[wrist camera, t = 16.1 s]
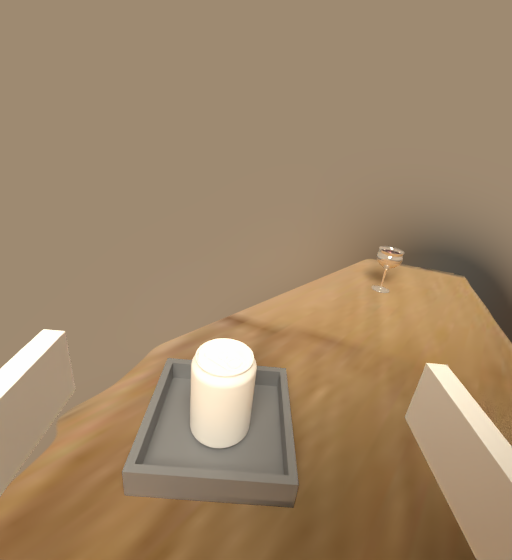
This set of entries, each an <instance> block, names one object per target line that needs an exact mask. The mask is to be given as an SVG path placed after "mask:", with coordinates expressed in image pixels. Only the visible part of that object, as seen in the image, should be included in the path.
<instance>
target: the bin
mask: <svg viewBox="0 0 512 560" xmlns="http://www.w3.org/2000/svg"><path fill="white" fill-rule="evenodd" d="M191 363H192V360H184V359H172V358H168V359H167V361H166V364H165V366H164V369H163V371H162V374H161V376H160V379H159V381H158V384H157V386H156V389H155V391H154V394H153V396H152V399H151V401H150V404H149V406H148V409H147V411H146V413H145V416H144V418H143V421H142V423H141V426H140V428H139V431H138V433H137V436H136V438H135V441H134V443H133V446H132V448H131V451H130V453H129V456H128V458H127V461H126V463H125V466H124V468H123V471H122V476H123V485H124V494H125V495H127V496H141V497H154V498H168V499H182V500H196V501H209V502H223V503H237V504H251V505H265V506H278V507H292V508H293V507H294V503H295V499H296V494H297V490H298V486H299V483H298V474H297V465H296V455H295V446H294V437H293V428H292V419H291V410H290V401H289V392H288V383H287V374H286V368H276V367H265V366H257V370H256V378H255V386H254V394H253V402H252V409H251V417H250V425H249V430H248V432H247V434H246V436H245V437H244V438H243V439H242V440H241V441H240V442H239V443H237V444H235V445H233V446H230V447H227V448H212V447H208V446H206V445H204V444H202V443H200V442H199V441H198V440H197V439H196V438H195V437H194V435H193V434H192V432H191V428H190V397H191Z"/></svg>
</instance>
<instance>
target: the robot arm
mask: <svg viewBox="0 0 512 560" xmlns="http://www.w3.org/2000/svg"><path fill="white" fill-rule="evenodd" d="M74 392H75V385H74V378H73V373H72V367H71V361H70V355H69V350H68V344H67V338H66V333H65V331H57V330H46V329H43V330H42V331H41V332H40V333H39V334H38V335H37V336H36V337H35V338H33V339H32V340H31V341H30V342H29V343H28V344H27V345H26V346H25V347H24V348H22V350H20V351H19V352H18V353H17V354H16V355H15V356H14V357H13V358H12V359H11V360H10V361H8V362H7V363H6V364H5V365H4V366H3V367H2V368H1V369H0V496H1V495H2V493H3V492H4V491H5V489H6V488H7V486H8V485H9V484H10V482H11V481H12V479H13V478H14V477H15V475H16V474H17V472H18V471H19V469H20V468H21V467H22V465H23V464H24V462H25V461H26V460H27V458H28V457H29V455H30V454H31V452H32V451H33V450H34V448H35V447H36V445H37V444H38V443H39V441H40V440H41V438H42V437H43V436H44V434H45V433H46V431H47V430H48V428H49V427H50V426H51V424H52V423H53V421H54V420H55V419H56V417H57V416H58V414H59V413H60V412H61V410H62V409H63V407H64V406H65V404H66V403H67V402H68V400H69V399H70V397H71V396H72V394H73V393H74ZM405 419H406V421H407V423H408V425H409V427H410V429H411V431H412V433H413V435H414V437H415V439H416V441H417V443H418V445H419V447H420V449H421V451H422V453H423V455H424V457H425V459H426V461H427V463H428V465H429V467H430V469H431V471H432V473H433V475H434V477H435V479H436V481H437V483H438V485H439V487H440V489H441V491H442V492H443V494H444V496H445V498H446V500H447V502H448V504H449V506H450V508H451V510H452V512H453V514H454V516H455V518H456V520H457V522H458V524H459V526H460V528H461V530H462V532H463V534H464V536H465V538H466V540H467V542H468V544H469V546H470V548H471V550H472V552H473V554H474V556H475V558H476V560H512V446H511V445H510V444H509V443H508V441H507V440H506V439H505V438H504V436H503V435H502V434H501V433H500V431H499V430H498V429H497V427H496V426H495V425H494V424H493V422H492V421H491V420H490V419H489V417H488V416H487V415H486V414H485V412H484V411H483V410H482V409H481V407H480V406H479V405H478V404H477V402H476V401H475V400H474V399H473V397H472V396H471V395H470V394H469V392H468V391H467V390H466V389H465V387H464V386H463V385H462V383H461V382H460V381H459V380H458V378H457V377H456V376H455V375H454V373H453V372H452V371H451V370H450V368H449V367H448V366H447V365H443V364H431V363H426V365H425V368H424V370H423V373H422V375H421V378H420V380H419V383H418V385H417V388H416V390H415V393H414V395H413V398H412V400H411V403H410V405H409V408H408V410H407V413H406V415H405Z"/></svg>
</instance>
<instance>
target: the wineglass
mask: <svg viewBox="0 0 512 560" xmlns="http://www.w3.org/2000/svg"><path fill="white" fill-rule="evenodd" d="M379 250H380V251H379V252H378V253H377V261H378V262H379V264H380V265H381V266H383V268H384V269H385V270H384V274H383V278H382V282H381V286H379V285H374V286H372V289H373V290H375V291H377V292H381V293H388V292H389V290H388V289H387V288H385V287H383V286H382V284H383V282H384V279H385V276H386V273H387V270H389V269H390V268H395V267H397V266H399V265H400V264H401V262H402V259H403V257H402V255H403V254H404V252H403V251H402V250H400V249H398V248H394V247H389V246H381V247H379Z"/></svg>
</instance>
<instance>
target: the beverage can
mask: <svg viewBox="0 0 512 560" xmlns="http://www.w3.org/2000/svg"><path fill="white" fill-rule="evenodd" d="M256 370H257V365H256V361H255V359H254V355H253V352H252V350H251V349H250V348H249V347H248V346H247V345H245V344H244V343H242V342H240V341H237V340H233V339H227V338H221V339H214V340H210V341H208V342H206V343H204V344H202V345H201V346H200V347H199V348H198V350H197V352H196V354H195V356H194V358H193V360H192V363H191V397H190V428H191V432H192V434H193V435H194V437H195V438H196V439H197V440H198V441H199V442H200V443H202V444H204V445H206V446H208V447H212V448H227V447H230V446H233V445H235V444H237V443H239V442H240V441H241V440H242V439H243V438H244V437H245V436H246V434H247V432H248V430H249V425H250V417H251V409H252V402H253V394H254V386H255V378H256Z"/></svg>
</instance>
